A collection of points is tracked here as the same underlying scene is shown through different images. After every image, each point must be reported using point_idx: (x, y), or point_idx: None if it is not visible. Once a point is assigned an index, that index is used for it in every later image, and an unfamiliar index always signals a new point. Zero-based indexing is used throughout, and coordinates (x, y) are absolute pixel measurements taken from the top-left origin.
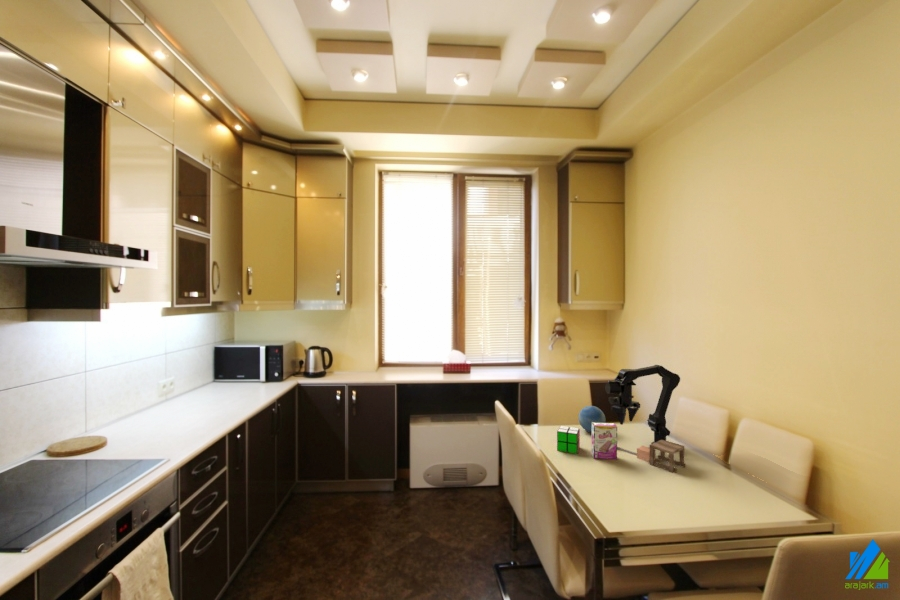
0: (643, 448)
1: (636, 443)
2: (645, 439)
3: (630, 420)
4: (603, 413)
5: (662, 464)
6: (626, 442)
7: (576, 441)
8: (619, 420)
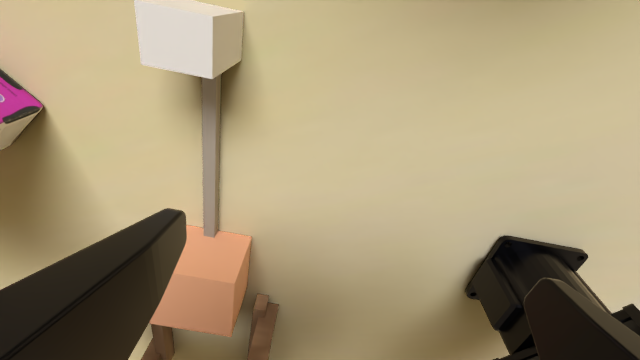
0: (182, 293)
1: (457, 156)
2: (606, 185)
3: (541, 302)
4: None
5: (156, 333)
6: (435, 84)
7: None
8: (77, 263)
